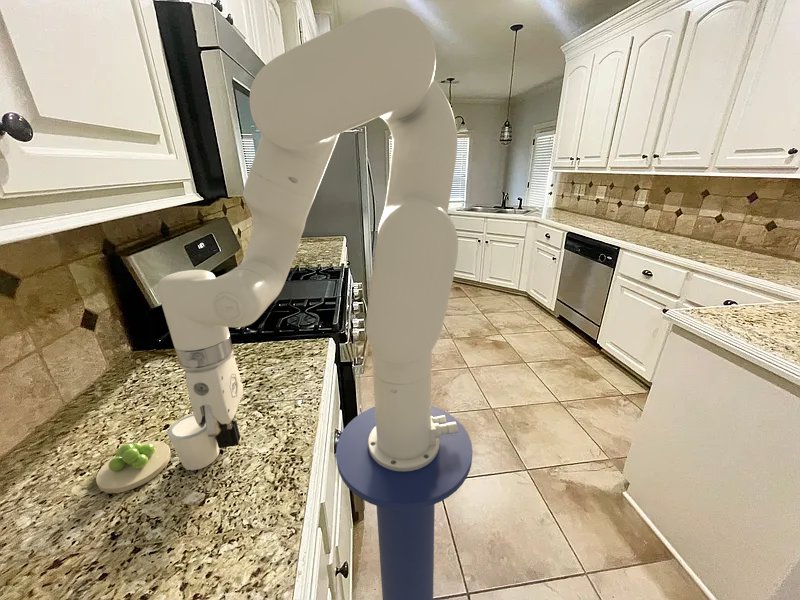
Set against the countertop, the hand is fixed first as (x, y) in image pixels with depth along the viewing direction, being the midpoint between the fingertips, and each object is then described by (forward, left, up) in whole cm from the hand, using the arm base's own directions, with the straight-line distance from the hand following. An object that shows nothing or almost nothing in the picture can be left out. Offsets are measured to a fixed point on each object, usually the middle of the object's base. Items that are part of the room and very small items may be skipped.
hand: (229, 443), depth 60 cm
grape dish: (+15, 0, -2) cm, 15 cm away
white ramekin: (+5, 0, -2) cm, 5 cm away
